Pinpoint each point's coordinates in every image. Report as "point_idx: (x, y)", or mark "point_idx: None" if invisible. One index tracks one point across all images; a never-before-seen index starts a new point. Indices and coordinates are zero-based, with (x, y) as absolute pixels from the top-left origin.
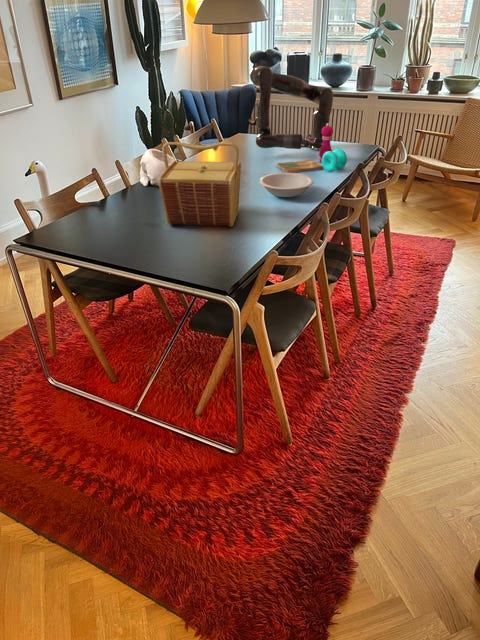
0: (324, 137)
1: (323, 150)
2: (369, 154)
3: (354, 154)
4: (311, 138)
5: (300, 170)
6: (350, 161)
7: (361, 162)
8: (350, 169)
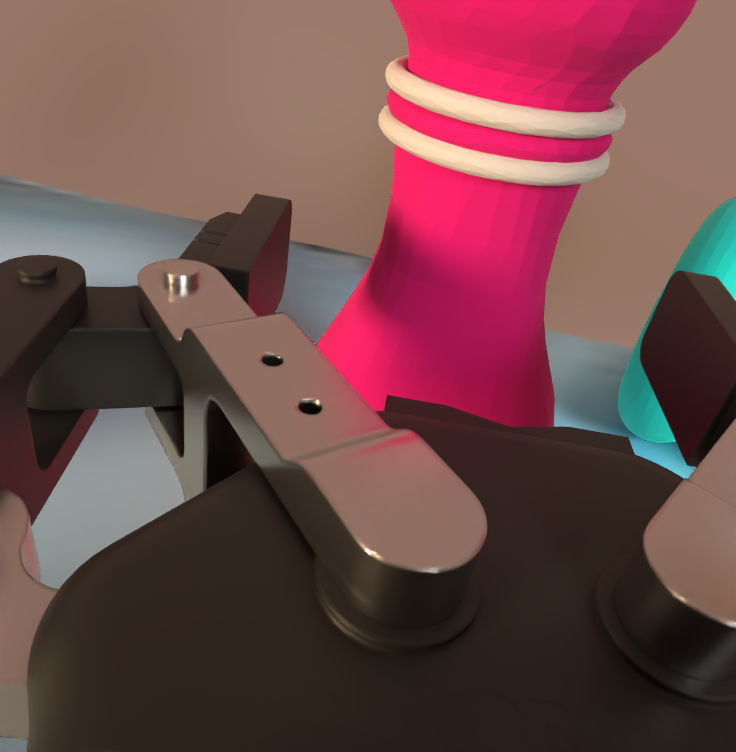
0: (622, 121)
1: (550, 388)
2: (53, 188)
3: (10, 250)
4: (315, 371)
5: None
6: (314, 309)
7: (343, 260)
8: (615, 344)
